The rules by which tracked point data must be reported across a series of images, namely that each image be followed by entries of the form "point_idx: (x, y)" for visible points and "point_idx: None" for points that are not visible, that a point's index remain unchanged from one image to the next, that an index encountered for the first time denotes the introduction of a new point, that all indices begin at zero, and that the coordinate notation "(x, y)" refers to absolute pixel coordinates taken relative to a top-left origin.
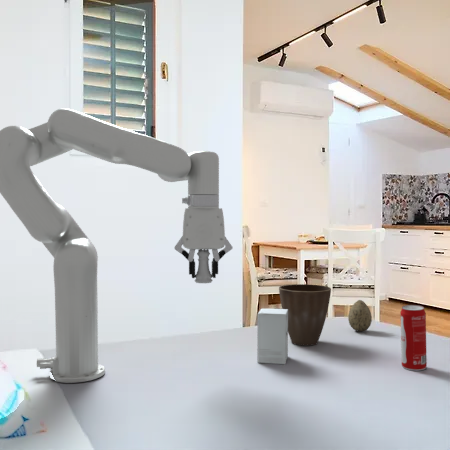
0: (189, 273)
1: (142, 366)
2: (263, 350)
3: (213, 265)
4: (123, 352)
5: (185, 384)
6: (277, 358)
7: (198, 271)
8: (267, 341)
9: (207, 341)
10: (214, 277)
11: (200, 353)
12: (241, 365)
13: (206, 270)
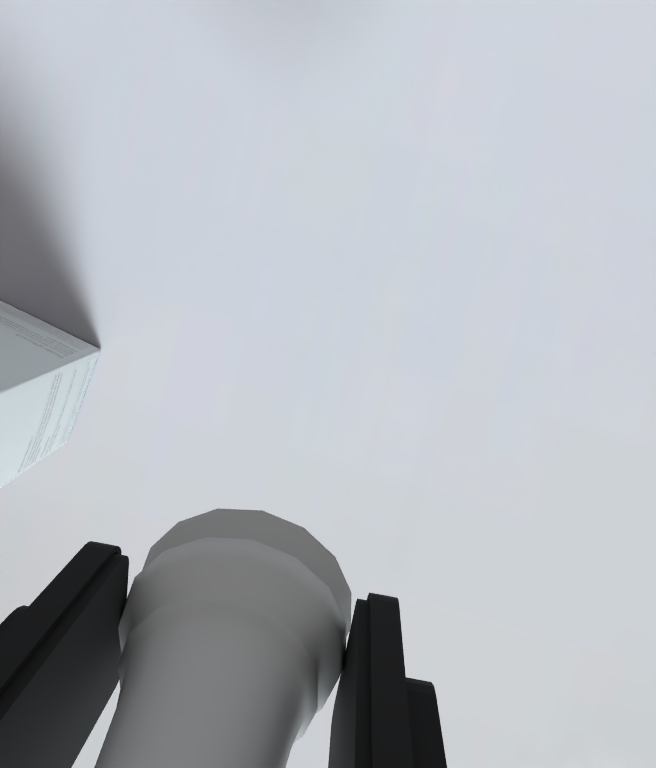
0: (429, 682)
1: (560, 437)
2: (47, 346)
3: (14, 678)
4: (586, 636)
5: (452, 146)
6: (10, 313)
7: (296, 679)
8: (2, 348)
9: None
10: (105, 544)
11: None
12: (171, 335)
13: (174, 645)
